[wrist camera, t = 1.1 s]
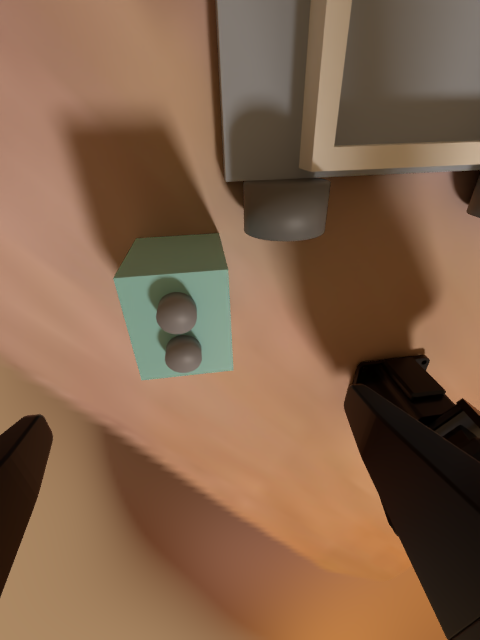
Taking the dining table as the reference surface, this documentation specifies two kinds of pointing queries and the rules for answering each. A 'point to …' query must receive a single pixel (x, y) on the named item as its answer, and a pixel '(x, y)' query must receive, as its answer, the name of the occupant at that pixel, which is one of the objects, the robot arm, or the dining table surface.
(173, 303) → the green cube with knobs
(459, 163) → the chassis
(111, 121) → the dining table surface
